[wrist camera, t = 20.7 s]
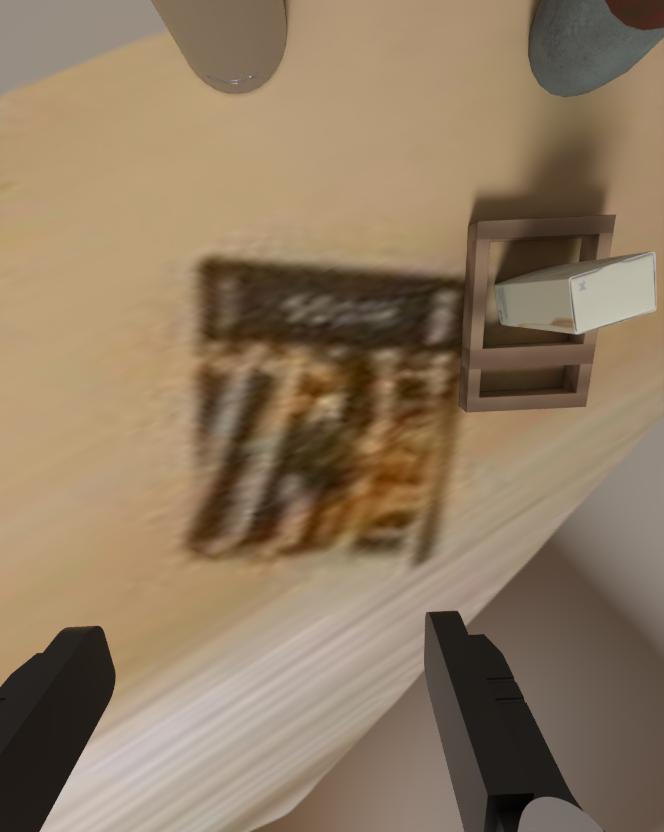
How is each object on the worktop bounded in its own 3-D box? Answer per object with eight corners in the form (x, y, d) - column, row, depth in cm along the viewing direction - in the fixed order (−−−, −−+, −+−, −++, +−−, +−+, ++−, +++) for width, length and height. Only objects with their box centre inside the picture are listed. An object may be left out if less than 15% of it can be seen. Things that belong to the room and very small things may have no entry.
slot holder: (468, 226, 37) (478, 221, 34) (597, 219, 37) (615, 214, 34) (458, 405, 42) (466, 412, 40) (571, 400, 42) (585, 406, 40)
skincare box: (499, 326, 40) (571, 338, 28) (492, 283, 38) (564, 278, 27) (561, 307, 39) (660, 312, 28) (556, 263, 38) (658, 249, 26)
